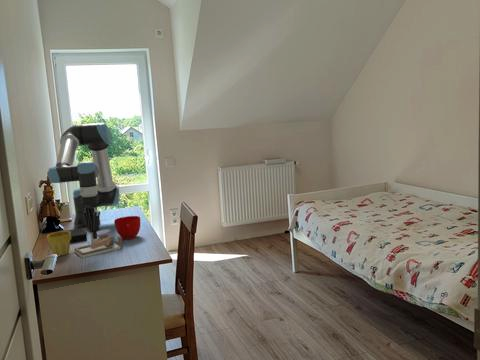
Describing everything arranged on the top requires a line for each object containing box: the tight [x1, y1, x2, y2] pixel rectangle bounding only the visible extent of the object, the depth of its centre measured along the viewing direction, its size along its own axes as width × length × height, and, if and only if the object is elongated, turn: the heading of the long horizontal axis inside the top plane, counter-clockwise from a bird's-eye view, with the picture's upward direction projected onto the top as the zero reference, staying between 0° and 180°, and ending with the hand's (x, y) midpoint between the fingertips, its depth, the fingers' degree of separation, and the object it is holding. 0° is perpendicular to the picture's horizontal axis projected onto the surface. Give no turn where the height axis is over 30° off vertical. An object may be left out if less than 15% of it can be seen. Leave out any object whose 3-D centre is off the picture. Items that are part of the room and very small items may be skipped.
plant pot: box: [46, 230, 71, 256], centre depth 209 cm, size 10×10×10 cm
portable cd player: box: [52, 228, 88, 244], centre depth 236 cm, size 16×17×4 cm
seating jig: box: [73, 235, 123, 258], centre depth 211 cm, size 13×19×6 cm
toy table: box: [97, 228, 111, 241], centre depth 224 cm, size 10×9×6 cm
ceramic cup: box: [114, 215, 141, 240], centre depth 228 cm, size 13×17×10 cm
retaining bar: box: [89, 235, 115, 249], centre depth 209 cm, size 15×3×2 cm, turn 157°
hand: (94, 245), depth 207 cm, fingers closed
